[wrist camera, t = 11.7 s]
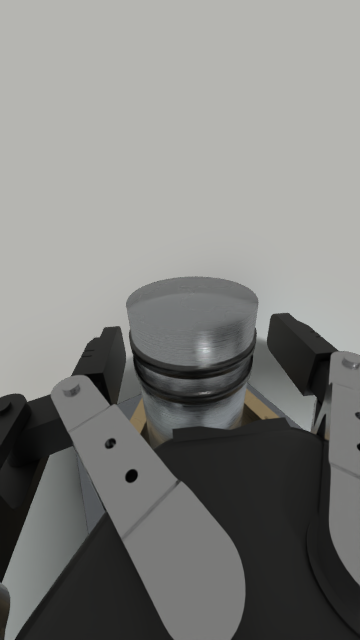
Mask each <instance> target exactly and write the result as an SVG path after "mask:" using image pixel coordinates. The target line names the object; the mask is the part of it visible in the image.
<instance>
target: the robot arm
mask: <svg viewBox="0 0 360 640" xmlns="http://www.w3.org/2000/svg"><path fill="white" fill-rule="evenodd" d="M267 345H268V348H269V350H270V352H271V353H272V354H273V356H274V357H275V358H276V360H277V361H278V362H279V364H280V365H281V366H282V368H283V369H284V370H285V372H286V373H287V375H288V376H289V377H290V379H291V380H292V381H293V383H294V384H295V385H296V387H297V388H298V389H299V391H300V392H301V394H302V395H303V396H308V395H315V396H316V397H317V398H316V401H315V404H314V412H313V419H312V427H311V432H309V431H306V430H303V429H299V428H295V427H290V425H289V423H288V422H287V420H286V418H285V417H281V418H272V419H262V420H256V421H254V422H251V423H249V424H246V425H243V426H241V427H238V428H236V429H232V430H227V429H220V428H212V427H204V426H195V427H186V428H176V429H172V434H173V438H172V439H170V440H167V441H165V442H163V443H162V444H160V445H158V446H157V447H156V448H154V449H153V450H152V448H151V447H150V446H149V445H148V443H147V442H146V441H145V440H144V438H143V437H142V436H141V435H140V434H139V432H138V431H137V430H136V429H135V427H134V426H133V425H132V424H131V422H130V421H129V420H128V419H127V418H126V416H125V415H124V414H123V413H122V411H121V410H120V409H119V408H118V406H117V401H118V396H119V391H120V387H121V382H122V377H123V373H124V368H125V363H126V352H125V347H124V342H123V337H122V332H121V328H120V327H119V326H116V327H105V328H104V329H103V332H102V334H101V336H100V337H99V338H94V339H93V340H91V341H90V342H89V343H88V344H87V346H86V348H85V350H84V352H83V354H82V356H81V358H80V360H79V362H78V364H77V365H76V367H75V369H74V371H73V373H72V375H71V377H68V378H66V379H64V380H62V381H61V382H59V383H58V384H57V385H56V386H55V387H54V388H53V390H52V392H51V394H50V395H47V396H44V397H41V398H38V399H35V400H32V401H29V402H27V400H26V399H25V397H24V396H23V395H21V394H10V395H6V396H3V397H1V398H0V640H4V636H5V629H6V624H7V620H8V616H9V611H10V595H9V592H8V589H7V588H6V587H5V586H4V585H3V584H2V581H3V578H4V575H5V573H6V570H7V567H8V565H9V562H10V559H11V557H12V554H13V551H14V549H15V546H16V543H17V541H18V538H19V535H20V533H21V530H22V527H23V525H24V522H25V519H26V517H27V514H28V511H29V509H30V506H31V503H32V501H33V498H34V495H35V493H36V490H37V487H38V485H39V482H40V479H41V477H42V474H43V471H44V469H45V466H46V463H47V461H48V458H49V455H51V454H53V453H56V452H58V451H61V450H63V449H66V448H68V447H71V446H74V449H75V451H76V453H77V455H78V457H79V459H80V461H81V463H82V465H83V467H84V469H85V471H86V473H87V475H88V477H89V480H90V482H91V484H92V486H93V488H94V490H95V492H96V494H97V496H98V499H99V501H100V503H101V505H102V507H103V509H104V511H105V513H104V514H103V516H102V517H101V518H100V520H99V521H98V523H97V524H96V525H95V527H94V528H93V530H92V531H91V532H90V534H89V535H88V536H87V538H86V539H85V541H84V542H83V543H82V545H81V546H80V548H79V549H78V550H77V552H76V553H75V555H74V556H73V557H72V559H71V560H70V562H69V563H68V564H67V566H66V567H65V569H64V570H63V571H62V573H61V574H60V576H59V577H58V578H57V580H56V581H55V583H54V584H53V585H52V587H51V588H50V589H49V591H48V592H47V594H46V595H45V596H44V598H43V599H42V601H41V602H40V603H39V605H38V606H37V608H36V609H35V610H34V612H33V613H32V615H31V616H30V617H29V619H28V620H27V621H26V623H25V624H24V626H23V627H22V629H21V630H20V632H19V633H18V635H17V637H16V638H15V640H360V355H358V354H355V353H351V352H345V351H338V350H337V349H336V348H335V347H333V346H332V345H331V344H330V343H329V342H327V341H326V340H325V339H324V338H323V337H321V336H320V335H319V334H318V333H316V332H315V331H314V330H313V329H312V328H311V327H309V326H308V325H306V324H304V323H302V322H300V321H297V320H296V319H295V318H294V317H292V316H291V315H290V314H289V313H280V314H273V315H272V316H271V319H270V325H269V331H268V337H267Z"/></svg>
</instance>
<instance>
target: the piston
mask: <svg viewBox="0 0 360 640" xmlns="http://www.w3.org/2000/svg"><path fill="white" fill-rule="evenodd" d="M126 307H127V313H128V318H129V324H130V332H129V339H130V345H131V349H132V353H133V361H134V367H135V372H136V376H137V378H138V380H139V382H140V387H141V393H142V399H143V404H144V410H145V416H146V422H147V427H148V433H149V439H150V445H151V448H152V450H153V449H154V448H156V447H157V446H158V445H160V444H162V443H163V442H165V441H167V440H170V439H172V438H173V434H172V429H176V428H186V427H195V426H204V427H212V428H220V429H227V430H232V429H236V428H238V427H241V421H242V414H243V407H244V400H245V393H246V386H247V381H248V379H249V377H250V374H251V369H252V363H253V352H254V349H255V343H256V334H257V333H256V328H255V323H256V316H257V309H258V298H257V296H256V295H255V294H254V292H253V291H251V290H250V289H249V288H247V287H245V286H243V285H241V284H238V283H236V282H233V281H229V280H224V279H218V278H211V277H180V278H172V279H166V280H162V281H157V282H154V283H151V284H148V285H145V286H143V287H141V288H139V289H138V290H136V291H135V292H133V293H132V294H131V295H130V297H129V298H128V300H127V303H126Z"/></svg>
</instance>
